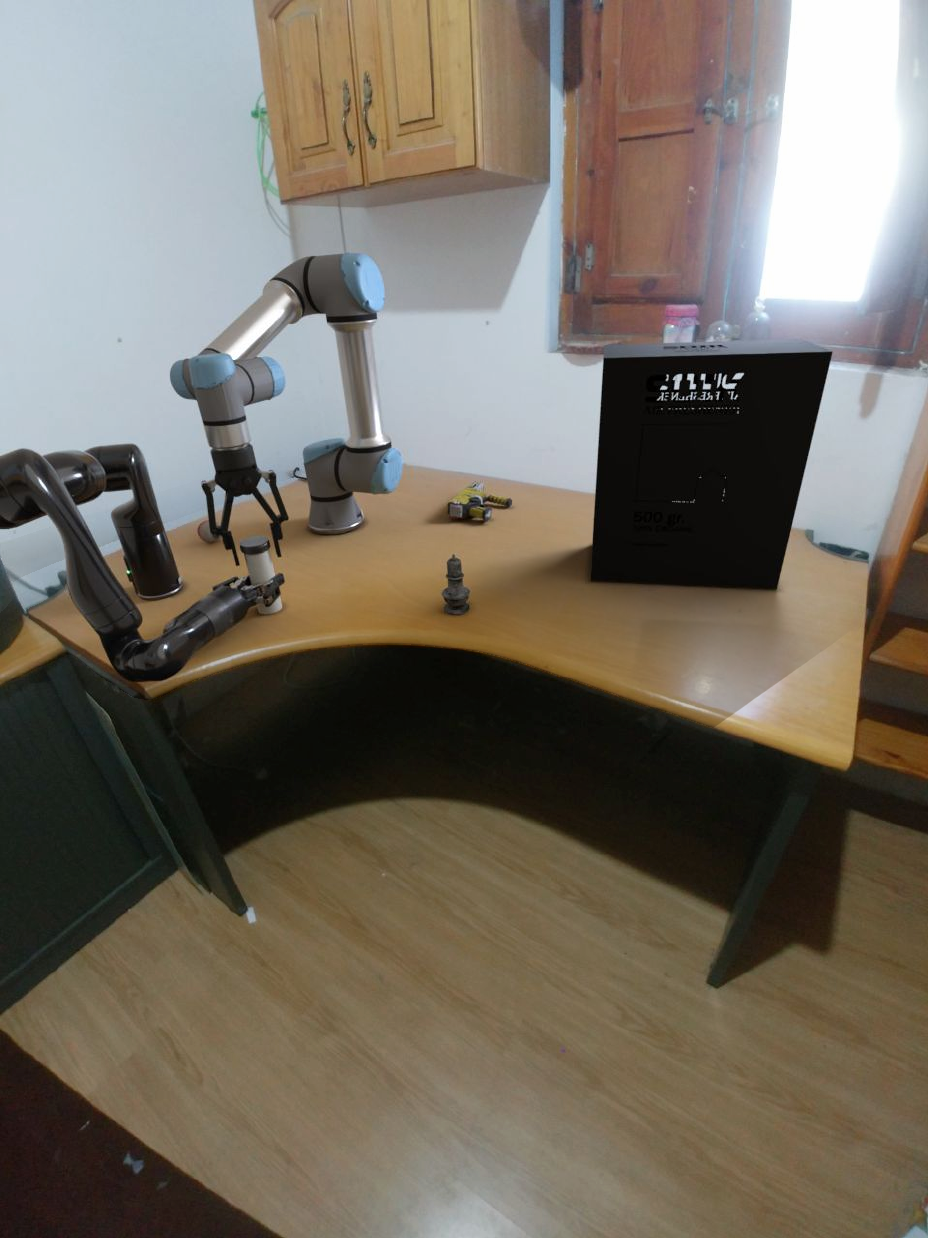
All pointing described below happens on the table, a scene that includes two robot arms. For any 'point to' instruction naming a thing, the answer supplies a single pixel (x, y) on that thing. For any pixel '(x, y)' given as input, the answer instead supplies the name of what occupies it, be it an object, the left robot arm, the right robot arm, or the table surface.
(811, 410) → the cardboard box
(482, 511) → the toy gun
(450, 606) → the dark grey tiered figure
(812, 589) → the table surface
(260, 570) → the bottle
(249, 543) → the lid
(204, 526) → the eyeball
